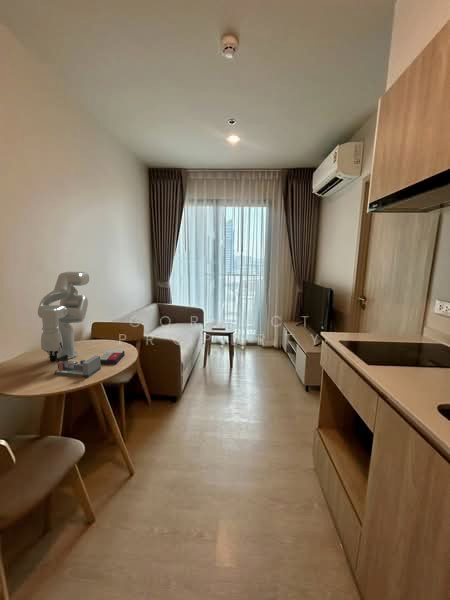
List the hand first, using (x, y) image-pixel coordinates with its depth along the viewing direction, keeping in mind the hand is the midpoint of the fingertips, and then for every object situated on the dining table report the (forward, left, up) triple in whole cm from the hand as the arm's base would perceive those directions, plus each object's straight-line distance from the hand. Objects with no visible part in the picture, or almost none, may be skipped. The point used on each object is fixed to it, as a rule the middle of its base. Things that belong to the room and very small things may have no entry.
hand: (53, 361), depth 146 cm
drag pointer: (+8, -4, -3) cm, 10 cm away
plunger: (+9, -1, -3) cm, 10 cm away
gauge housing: (+15, 0, -5) cm, 16 cm away
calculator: (+23, +20, -5) cm, 31 cm away
